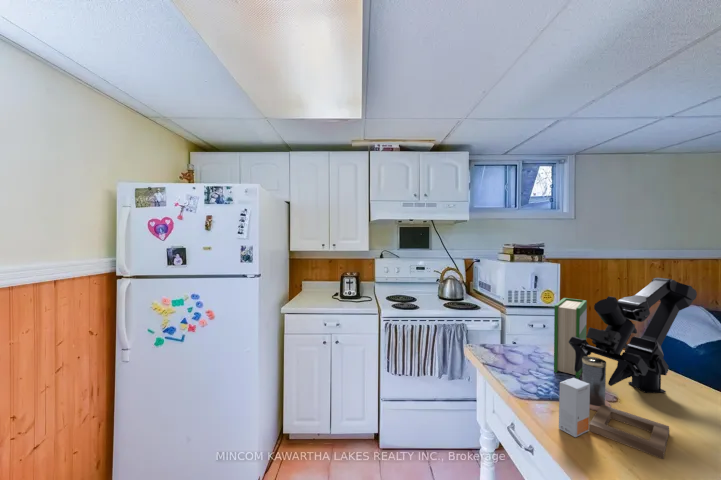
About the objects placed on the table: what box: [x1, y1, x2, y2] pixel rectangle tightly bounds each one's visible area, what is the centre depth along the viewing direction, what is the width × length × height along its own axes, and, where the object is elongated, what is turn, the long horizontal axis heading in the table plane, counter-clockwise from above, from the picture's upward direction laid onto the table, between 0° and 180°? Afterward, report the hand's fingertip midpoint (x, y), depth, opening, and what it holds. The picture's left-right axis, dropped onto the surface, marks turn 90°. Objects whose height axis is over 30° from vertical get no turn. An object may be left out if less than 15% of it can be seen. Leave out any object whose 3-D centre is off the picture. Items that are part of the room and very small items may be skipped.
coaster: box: [589, 399, 612, 412], centre depth 91 cm, size 8×8×1 cm
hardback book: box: [553, 297, 588, 379], centre depth 116 cm, size 18×7×24 cm, turn 138°
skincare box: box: [558, 377, 590, 438], centre depth 79 cm, size 6×4×12 cm
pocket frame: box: [588, 405, 670, 460], centre depth 78 cm, size 13×13×2 cm
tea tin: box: [581, 355, 607, 406], centre depth 91 cm, size 6×6×12 cm
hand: (591, 377), depth 91 cm, fingers open, 9 cm apart
